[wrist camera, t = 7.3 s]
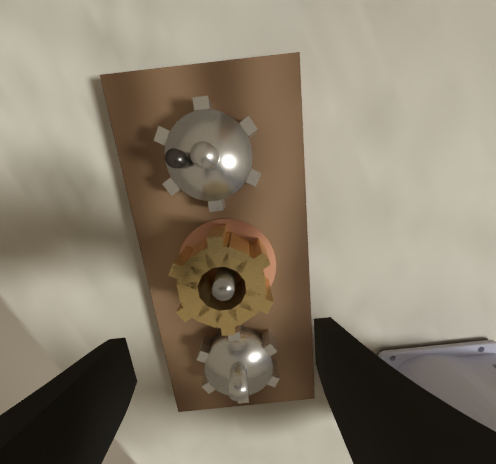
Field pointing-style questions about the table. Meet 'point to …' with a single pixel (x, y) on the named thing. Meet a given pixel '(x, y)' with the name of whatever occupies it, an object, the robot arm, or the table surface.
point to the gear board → (234, 214)
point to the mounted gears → (214, 191)
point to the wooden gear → (200, 284)
